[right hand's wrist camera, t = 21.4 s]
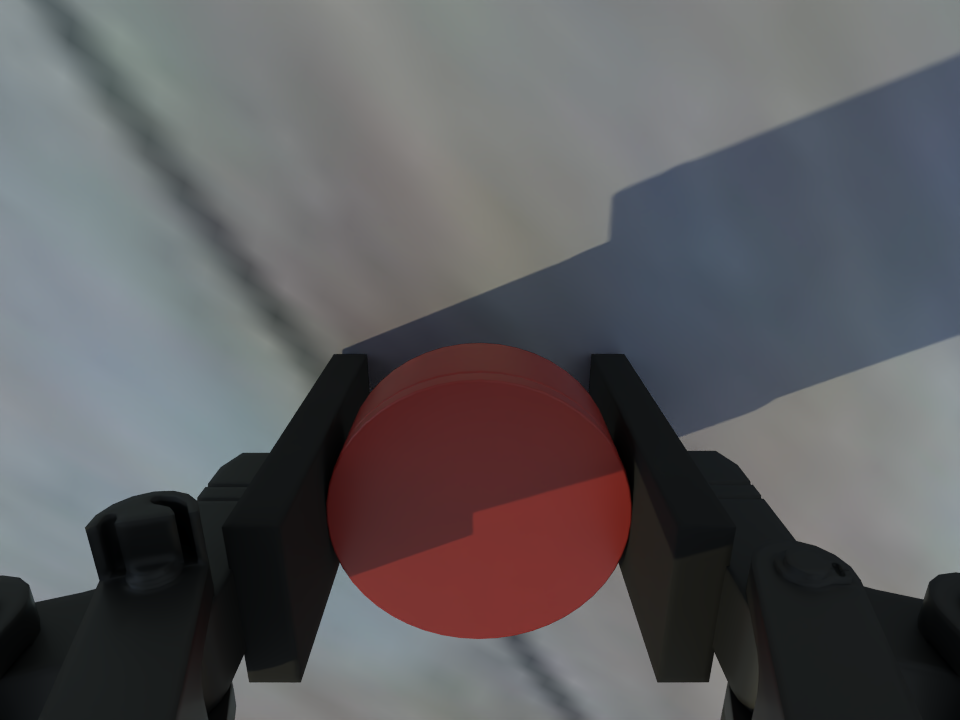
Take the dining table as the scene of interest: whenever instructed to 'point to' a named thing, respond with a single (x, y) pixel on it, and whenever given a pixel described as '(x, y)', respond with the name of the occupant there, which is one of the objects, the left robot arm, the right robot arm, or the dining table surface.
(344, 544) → the lid
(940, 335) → the dining table surface
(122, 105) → the dining table surface
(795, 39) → the dining table surface
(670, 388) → the dining table surface
